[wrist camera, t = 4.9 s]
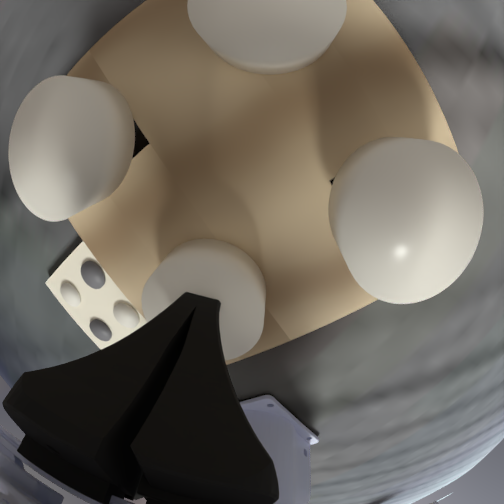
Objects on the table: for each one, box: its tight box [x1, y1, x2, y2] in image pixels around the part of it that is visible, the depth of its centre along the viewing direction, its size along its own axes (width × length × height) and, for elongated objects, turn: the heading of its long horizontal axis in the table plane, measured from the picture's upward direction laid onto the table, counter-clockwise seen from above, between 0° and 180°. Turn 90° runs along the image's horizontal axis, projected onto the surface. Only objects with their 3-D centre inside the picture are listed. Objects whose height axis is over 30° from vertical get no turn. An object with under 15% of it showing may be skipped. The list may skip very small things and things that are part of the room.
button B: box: [141, 238, 266, 361], centre depth 12 cm, size 5×5×4 cm
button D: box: [9, 75, 135, 221], centre depth 8 cm, size 5×5×4 cm
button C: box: [187, 0, 347, 75], centre depth 7 cm, size 5×5×4 cm
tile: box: [46, 241, 147, 349], centre depth 15 cm, size 7×7×1 cm
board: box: [66, 0, 459, 365], centre depth 11 cm, size 17×17×2 cm
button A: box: [328, 137, 483, 304], centre depth 8 cm, size 5×5×4 cm
